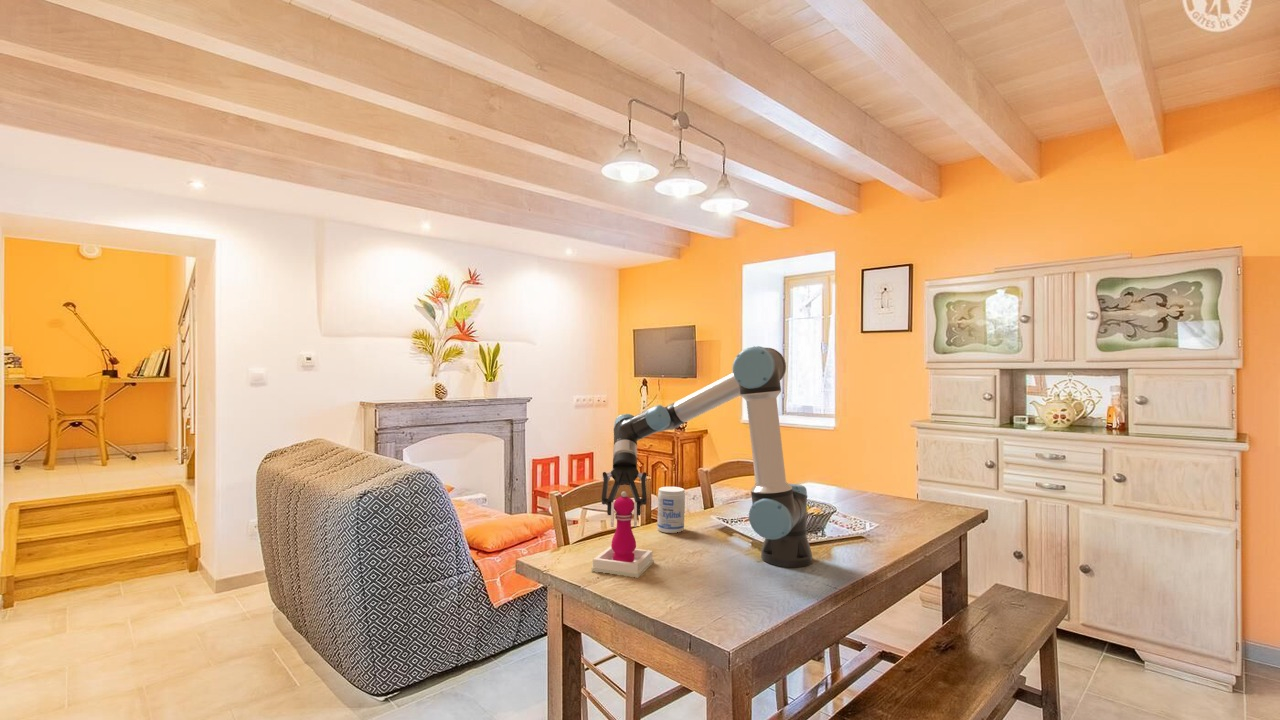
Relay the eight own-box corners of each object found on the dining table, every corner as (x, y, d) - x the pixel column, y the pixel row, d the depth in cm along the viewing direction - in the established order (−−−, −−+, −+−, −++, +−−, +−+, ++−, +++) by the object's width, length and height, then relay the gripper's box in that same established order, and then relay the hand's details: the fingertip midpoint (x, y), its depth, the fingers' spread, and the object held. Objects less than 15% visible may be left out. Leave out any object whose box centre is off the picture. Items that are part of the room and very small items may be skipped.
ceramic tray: (653, 562, 180) (653, 550, 180) (637, 577, 167) (638, 565, 167) (610, 556, 185) (610, 545, 185) (591, 571, 171) (591, 559, 171)
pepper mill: (620, 565, 171) (620, 495, 171) (606, 559, 177) (606, 490, 177) (640, 561, 175) (641, 492, 175) (626, 554, 181) (627, 487, 181)
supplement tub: (662, 534, 209) (662, 492, 209) (653, 527, 218) (654, 486, 218) (688, 532, 211) (688, 490, 212) (678, 525, 221) (679, 485, 221)
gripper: (654, 465, 191) (656, 531, 175) (595, 464, 191) (591, 531, 175) (655, 451, 186) (657, 517, 169) (594, 450, 186) (590, 517, 169)
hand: (623, 524), depth 172 cm, fingers closed on pepper mill, 6 cm apart
